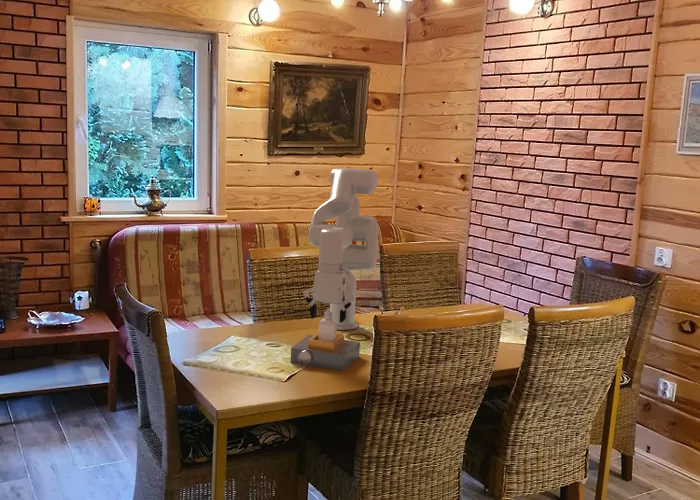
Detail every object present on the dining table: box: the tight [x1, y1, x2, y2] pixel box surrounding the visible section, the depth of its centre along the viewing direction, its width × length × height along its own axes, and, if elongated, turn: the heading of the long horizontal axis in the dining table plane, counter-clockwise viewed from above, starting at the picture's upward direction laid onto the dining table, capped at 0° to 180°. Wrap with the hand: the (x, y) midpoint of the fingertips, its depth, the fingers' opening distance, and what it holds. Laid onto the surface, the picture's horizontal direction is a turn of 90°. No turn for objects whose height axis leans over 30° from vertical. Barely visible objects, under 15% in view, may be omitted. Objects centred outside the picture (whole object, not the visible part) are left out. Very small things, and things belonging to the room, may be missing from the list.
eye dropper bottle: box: [317, 307, 337, 342], centre depth 232 cm, size 4×6×12 cm
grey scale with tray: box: [290, 331, 361, 372], centre depth 234 cm, size 18×18×8 cm
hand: (327, 319), depth 232 cm, fingers open, 9 cm apart
